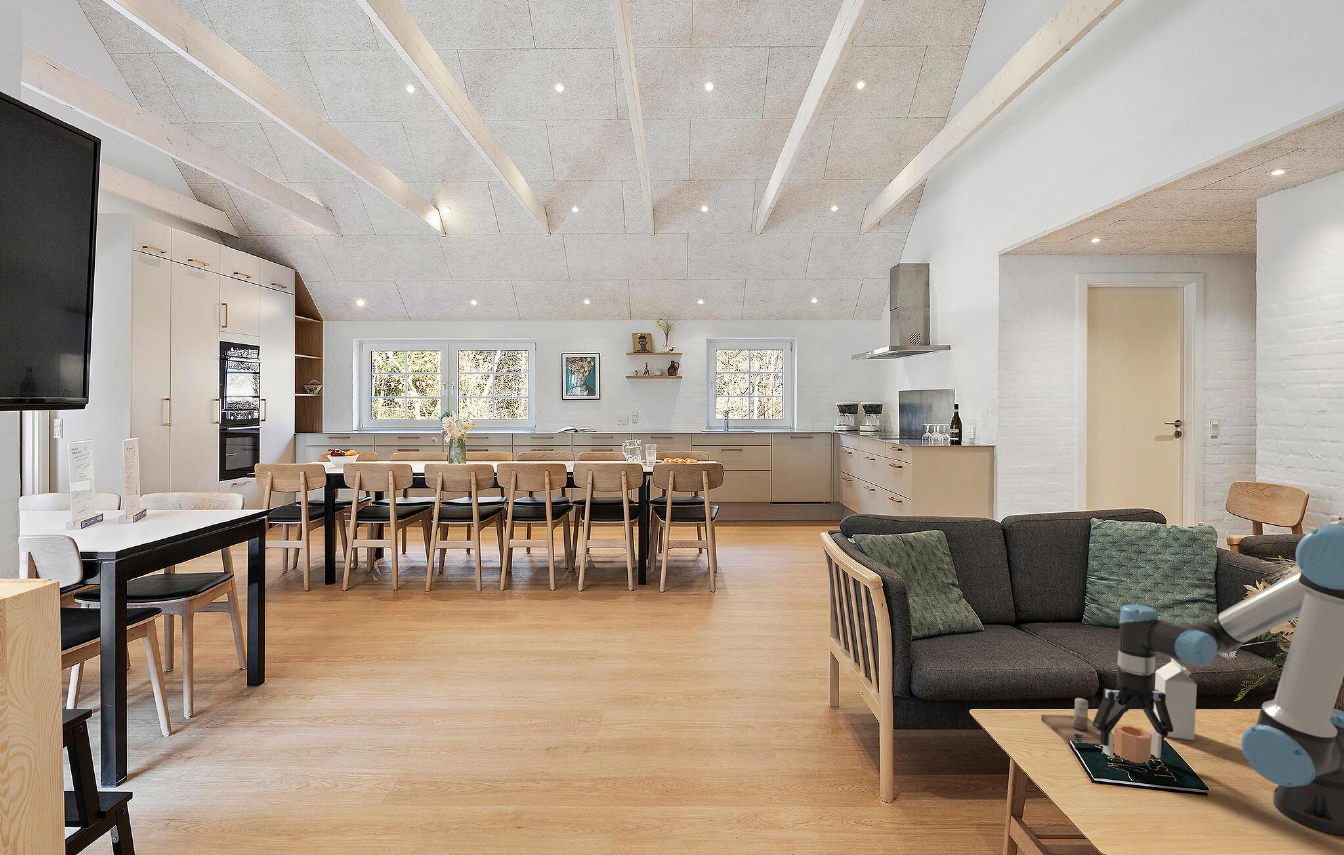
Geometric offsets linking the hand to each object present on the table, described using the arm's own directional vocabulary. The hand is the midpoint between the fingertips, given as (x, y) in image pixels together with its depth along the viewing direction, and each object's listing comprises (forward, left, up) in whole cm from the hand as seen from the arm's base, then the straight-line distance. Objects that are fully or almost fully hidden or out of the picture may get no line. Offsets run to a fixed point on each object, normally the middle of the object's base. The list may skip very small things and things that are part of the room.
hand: (1131, 758), depth 173 cm
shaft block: (+13, +5, 0) cm, 14 cm away
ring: (0, 0, 0) cm, 0 cm away
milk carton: (+15, -21, 0) cm, 26 cm away
